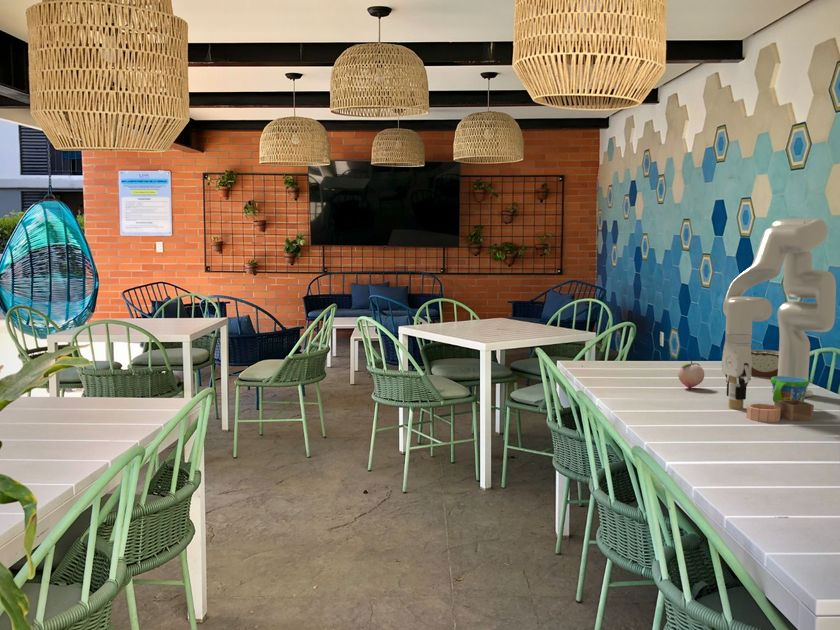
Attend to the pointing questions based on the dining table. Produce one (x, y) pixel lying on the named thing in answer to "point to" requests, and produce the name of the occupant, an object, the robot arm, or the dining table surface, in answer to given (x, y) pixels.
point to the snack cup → (788, 388)
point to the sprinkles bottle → (732, 401)
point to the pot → (763, 412)
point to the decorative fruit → (691, 374)
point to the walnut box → (796, 410)
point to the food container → (764, 363)
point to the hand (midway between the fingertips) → (736, 397)
